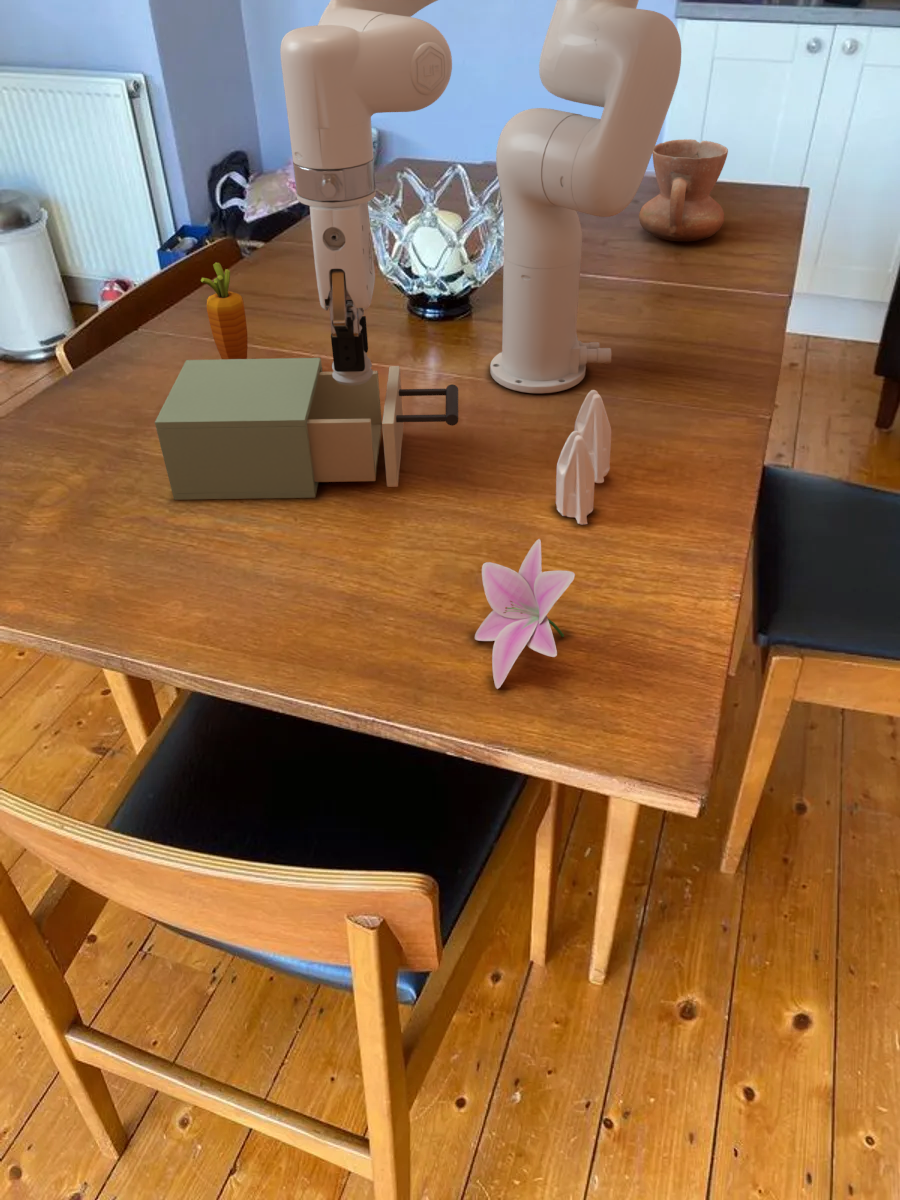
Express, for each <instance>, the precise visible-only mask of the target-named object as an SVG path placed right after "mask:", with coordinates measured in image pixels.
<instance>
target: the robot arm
mask: <svg viewBox="0 0 900 1200" xmlns="http://www.w3.org/2000/svg"><path fill="white" fill-rule="evenodd" d="M437 1H439V0H330V1H329V3H328V4H327V6H326V7H325V9H324V11H323V12H322V14H321V16H320V19H319V21H318V23H317V25H308V26H302V27H297V28H294V29H292V30H290V31H288V32H286V33H285V35H284V36H283V38H282V40H281V43H280V49H279V52H280V54H279V55H280V64H281V73H282V80H283V81H282V82H283V90H284V98H285V106H286V114H287V123H288V132H289V137H290V138H289V139H290V147H291V156H292V166H293V174H294V183H295V191H296V192H295V193H296V200H297V201H298V202H299V203H300V204H302V205H306V206H308V207H309V214H310V215H309V216H310V231H311V239H312V250H313V258H314V268H315V279H316V286H317V293H318V298H319V299H318V300H319V303H320V307H321V308H322V309H323V310H325V311H328V310H329V320H330V332H331V333H330V342H331V351H332V352H331V353H332V362H333V361H334V369H335V371H337V372H359V371H364V369H365V358H364V351H365V352H366V353H367V354H368V351H369V341H368V340H369V339H368V329H367V328H368V326H367V317H366V315H364V314H365V311H366V310H368V309H369V308H370V306H371V305H372V300H373V296H374V290H375V283H376V270H375V269H376V268H375V261H374V251H373V243H372V242H373V241H372V240H373V239H372V232H371V221H370V219H371V218H370V211H369V205H368V202H371V201H372V200H373V199H375V197H376V195H377V188H376V177H375V176H376V174H375V159H374V144H373V128H372V127H373V126H372V116H373V115H375V114H382V113H383V114H384V113H411V112H416V111H420V110H424V109H425V108H427V107H429V106H431V105H433V104H434V103H435V102H436V101H438V100H439V99H440V98H441V97H442V95H443V94H444V93H445V91H446V89H447V87H448V85H449V82H450V80H451V76H452V70H453V58H452V51H451V48H450V45H449V43H448V42H447V40H446V38H445V36H444V35H443V33H442V32H441V31H440V30H439V29H438V28H437V27H435V26H434V25H432V24H431V23H430V22H427V21H425V20H423V19H420V18H418V17H413V16H414V15H416V14H417V13H418V12H419V11H422V10H423V9H424V8H426V7H428V6H429V5H431V4H433V3H436V2H437ZM638 3H639V0H556V2H555V6H554V10H553V12H552V15H551V18H550V22H549V25H548V28H547V31H546V35H545V37H544V40H543V45H542V49H541V52H540V57H539V64H538V68H539V69H538V73H539V78H540V81H541V84H542V86H543V87H544V88H545V90H546V91H547V92H548V93H550V94H552V95H553V96H555V97H557V98H559V99H563V100H566V101H569V102H574V103H578V104H583V105H588V106H592V107H593V106H594V107H598V108H599V107H600V108H603V109H602V113H601V116H600V118H596V117H592V116H586V115H583V114H581V113H580V114H579V113H574V112H570V111H563V110H559V109H554V108H546V107H535V108H533V107H532V108H528V109H525V110H522V111H520V112H517V113H516V114H515V115H513V116H512V117H511V118H510V119H509V120H508V121H507V122H506V123H505V125H504V126H503V128H502V129H501V132H500V134H499V136H498V140H497V144H496V145H497V146H496V149H495V150H496V151H495V163H496V165H495V166H496V174H497V179H498V185H499V191H500V196H501V203H502V214H503V267H502V269H503V270H502V271H503V273H502V276H503V277H502V330H501V331H502V333H501V334H502V338H501V339H502V341H501V342H502V343H501V351H500V352H498V353H497V354H496V355H495V356H494V357H493V358H492V360H490V364H489V365H490V366H489V372H490V376H491V377H492V379H493V380H494V382H496V383H498V384H499V385H500V386H502V387H504V388H507V389H509V390H512V391H515V392H519V393H527V394H552V393H557V392H563V391H565V390H569V389H571V388H573V387H575V386H577V385H578V384H580V383H581V382H582V381H583V380H584V378H585V377H586V369H587V367H586V366H587V364H591V363H593V364H595V363H596V364H611V362H612V348H611V347H600V341H589V342H583V341H582V340H579V338H578V334H577V325H578V312H579V311H578V310H579V298H580V297H579V296H580V282H581V268H582V267H581V265H582V256H583V231H582V225H581V220H580V216H579V214H578V213H582V214H585V215H591V216H594V217H601V218H607V217H609V218H610V217H613V216H617V215H618V214H620V213H622V212H623V211H625V209H626V208H627V207H628V206H629V205H630V204H631V203H632V201H633V200H634V198H635V196H636V194H637V193H638V191H639V189H640V187H641V184H642V182H643V180H644V177H645V175H646V171H647V169H648V166H649V163H650V161H651V158H652V157H653V150H654V147H655V146H656V145H657V142H658V139H659V136H660V134H661V130H662V129H663V125H664V123H665V120H666V118H667V114H668V112H669V109H670V106H671V104H672V101H673V98H674V94H675V91H676V88H677V85H678V82H679V77H680V71H681V66H682V41H681V36H680V33H679V31H678V28H677V27H676V25H675V23H674V22H673V21H672V20H671V19H670V18H669V17H668V16H667V15H665V14H663V13H660V12H657V11H655V10H650V9H643V8H638ZM347 301H352V304H347ZM358 308H359V309H360V310H361V311H362V312H363V316H362V317H361V319H360V321H359V317H358ZM351 312H352V319H351V317H348V316H347V313H351ZM359 324H360V325H361V326H362V330H361V331H360V332H361V333H359Z"/></svg>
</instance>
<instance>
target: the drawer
mask: <svg viewBox="0 0 900 1200" xmlns="http://www.w3.org/2000/svg"><path fill="white" fill-rule="evenodd" d="M332 373H333V371H322V372H319V376H318V380H317V383H316V387H315V391H314V395H313V399H312V403H311V407H310V411H309V415H308V419H307V429H308V437H309V444H310V452H311V459H312V466H313V474H314V481H315V482H319V483H329V482H330V483H331V482H332V483H336V482H338V483H339V482H341V483H343V482H346V483H347V482H376V478H377V472H378V471H377V470H378V464H379V463H378V462H379V457H380V455H379V454H380V447H381V438H383V453H384V465H385V478H386V487H389V488H397V487H399V480H400V468H401V467H400V466H401V458H402V448H403V447H402V446H403V434H404V423H439V422H440V423H441V422H445V424H447V425H448V426H455V425H457V424H458V423H459V387H458V386H457V385H456V384H448V386H446V388H408V389H407V388H402V379H401V378H402V377H401V366H400V365H389V368H388V375H387V383H386V389H385V390H386V391H385V399H384V406H383V413H382V407H381V393H380V382H379V371H378V370H373V375H372V376H371V378H370V379H369V381H367V382H366V383H363V384H360V385H354V386H349V385H343V384H340V383H338V382H337V381H336V380H335V379H334V378H333V376H332ZM425 396H426V397H430V396H433V397H434V396H435V397H436V396H445V414H443V413H442V414H440V413H439V414H403V411H404V410H403V398H402V397H425Z"/></svg>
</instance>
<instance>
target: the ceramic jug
mask: <svg viewBox="0 0 900 1200" xmlns="http://www.w3.org/2000/svg"><path fill="white" fill-rule="evenodd" d="M728 155H729V149H728V148H727V147H726V146H725V145H722V144H720V143H719V142H715V141H709V140H701V141H700V142H699V141H698V140H697V139H692V138H691V139H687V138H685V139H672V140H667V141H664V142H660V143H658V144H657V143H656V145H655V147H654V150H653V153H652V161H653V162H652V164H653V170H654V174H655V178H656V182H657V185H658V189H659V193H658V194H657V195H655V196H654V197H653V198H651V199H649V200H648V201H646V202H645V203H644V204H643V205H642V207H641V209H640V211H639V213H638V220H639V224H640V226H641V228H642V229H643V230H644V231H645V232H647V233H648V234H650V235H651V236H654V237H656V238H659V239H662V240H666V241H671V242H683V243H684V242H686V243H687V242H697V241H701V240H705V239H707V238H710V237H712V236H713V235H715V234H716V233H718V232H719V231H720V230H721V228H722V227H723V224H724V221H725V212H724V209H723V207H722V205H720V203H718V201H716V200H715V199H714V198H713V197H712V196H711V195H710V194H711V193H712V191H713V189H714V188H715V185H716V184H717V182H718V180H719V178H720V176H721V173H722V171H723V170H724V166H725V164H726V161H727V157H728Z"/></svg>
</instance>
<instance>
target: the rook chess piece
mask: <svg viewBox="0 0 900 1200" xmlns="http://www.w3.org/2000/svg"><path fill="white" fill-rule="evenodd" d="M347 304H352V301H347ZM347 316H348V317H351V319H352V312H351V313H347ZM362 316H364V315H363V312H362V311H361V310H360V309H359V308H358V317H359V321H360V319H361V317H362ZM361 330H362V326H361V325H360V324H359V333H361V332H360V331H361ZM364 358H365V369H364V371H359V372H337V371H335V369H334V361H333V360H332V364H331V368H332V372H333V373H332V376H333V378H334V379H335V380H336V381H337V382H338V383H340V384H343V385H349V386H354V385H360V384H363V383H366V382H367V381H369V379H370V378H371V376H372V375H373V371H374V370H373V368H372V367H373V364H372V360H371V359H370V357H369V356H368V352H367V353H366V352H365V351H364Z"/></svg>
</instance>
